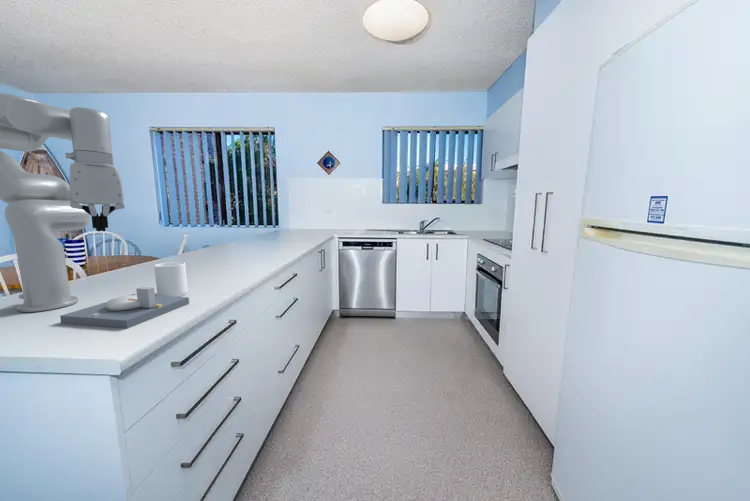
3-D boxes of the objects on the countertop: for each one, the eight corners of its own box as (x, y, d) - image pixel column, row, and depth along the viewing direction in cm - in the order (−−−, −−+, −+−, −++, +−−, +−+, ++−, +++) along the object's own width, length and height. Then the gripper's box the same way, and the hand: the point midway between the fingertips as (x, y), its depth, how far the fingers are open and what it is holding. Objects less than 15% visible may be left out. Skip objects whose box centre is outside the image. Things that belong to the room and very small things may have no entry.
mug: (176, 289, 112) (173, 260, 111) (192, 294, 105) (190, 263, 104) (148, 294, 105) (145, 263, 104) (164, 300, 98) (161, 267, 97)
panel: (61, 323, 79) (59, 312, 79) (133, 300, 98) (132, 291, 98) (127, 328, 76) (126, 317, 75) (189, 303, 95) (188, 294, 95)
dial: (97, 308, 83) (94, 290, 82) (134, 298, 93) (132, 281, 92) (134, 312, 80) (132, 293, 79) (168, 301, 90) (167, 284, 89)
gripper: (53, 155, 72) (62, 233, 74) (133, 163, 83) (138, 231, 86) (51, 157, 77) (59, 230, 79) (127, 164, 88) (132, 228, 90)
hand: (100, 230), depth 82 cm, fingers closed
